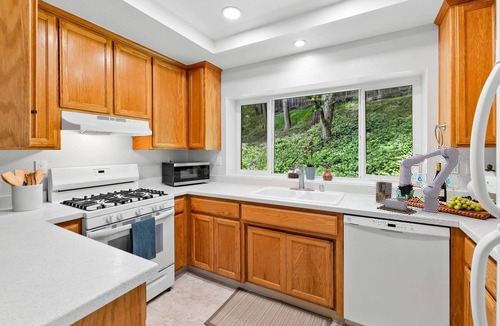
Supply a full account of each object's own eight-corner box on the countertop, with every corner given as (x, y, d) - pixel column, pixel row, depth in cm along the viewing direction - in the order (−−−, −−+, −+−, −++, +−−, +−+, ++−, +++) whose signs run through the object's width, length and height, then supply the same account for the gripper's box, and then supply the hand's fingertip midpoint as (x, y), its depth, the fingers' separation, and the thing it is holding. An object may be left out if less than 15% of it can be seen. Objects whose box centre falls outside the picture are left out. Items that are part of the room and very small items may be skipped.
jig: (385, 205, 176) (385, 203, 176) (416, 211, 160) (416, 208, 160) (376, 208, 168) (376, 206, 168) (408, 214, 152) (408, 211, 152)
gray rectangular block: (388, 206, 171) (388, 197, 170) (407, 210, 161) (407, 200, 161) (385, 207, 168) (385, 198, 167) (404, 211, 158) (404, 201, 158)
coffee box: (391, 204, 182) (392, 182, 181) (385, 204, 180) (385, 183, 179) (381, 201, 191) (382, 181, 190) (375, 202, 189) (375, 181, 188)
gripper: (404, 174, 172) (403, 193, 173) (395, 176, 164) (394, 196, 164) (415, 175, 167) (414, 195, 167) (406, 177, 158) (406, 197, 159)
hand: (405, 195), depth 166 cm, fingers open, 7 cm apart
